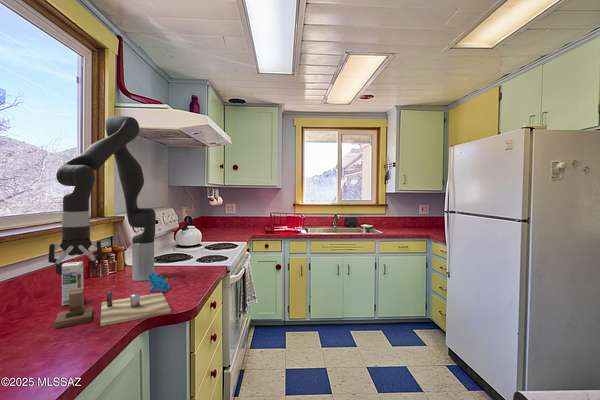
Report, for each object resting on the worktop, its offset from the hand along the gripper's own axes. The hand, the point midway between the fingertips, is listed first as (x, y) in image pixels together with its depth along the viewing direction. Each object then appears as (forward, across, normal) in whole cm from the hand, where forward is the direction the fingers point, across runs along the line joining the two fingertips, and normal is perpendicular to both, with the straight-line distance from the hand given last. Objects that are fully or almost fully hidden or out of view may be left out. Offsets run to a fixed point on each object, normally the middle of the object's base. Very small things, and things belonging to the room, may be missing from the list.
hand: (76, 272), depth 100 cm
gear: (+14, -27, -10) cm, 32 cm away
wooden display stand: (+14, 0, +3) cm, 14 cm away
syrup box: (+14, +2, -13) cm, 19 cm away
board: (+14, -17, +6) cm, 23 cm away
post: (+14, -17, +6) cm, 23 cm away
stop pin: (+14, -9, +2) cm, 17 cm away
